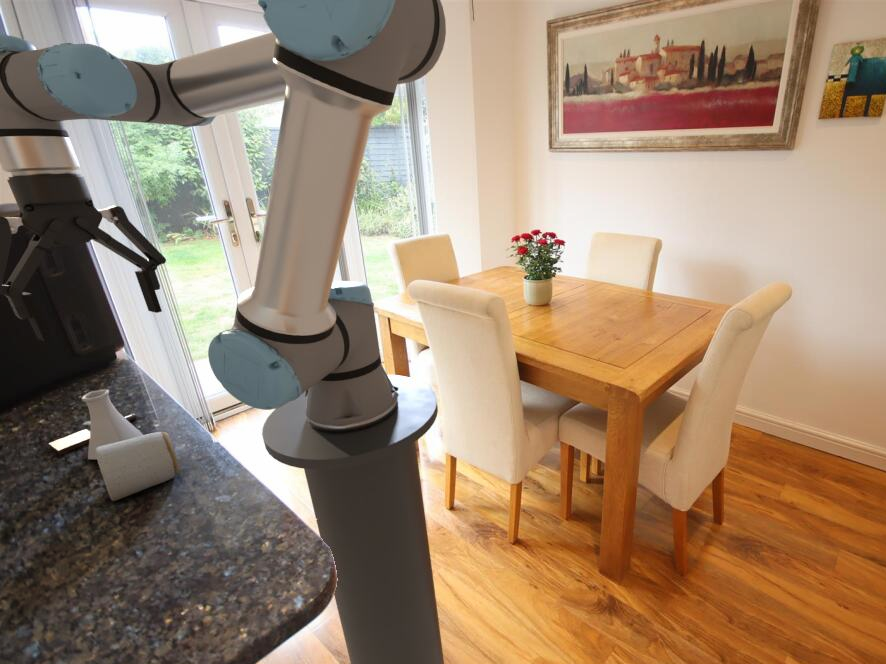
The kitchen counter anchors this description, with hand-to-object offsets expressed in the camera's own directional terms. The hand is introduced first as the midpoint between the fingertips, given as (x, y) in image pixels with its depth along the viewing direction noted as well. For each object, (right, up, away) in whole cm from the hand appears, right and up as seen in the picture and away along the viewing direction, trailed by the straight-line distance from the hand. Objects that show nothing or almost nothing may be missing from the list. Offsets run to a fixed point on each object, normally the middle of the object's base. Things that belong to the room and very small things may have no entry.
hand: (104, 324), depth 69 cm
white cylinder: (+7, -23, -2) cm, 24 cm away
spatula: (-11, -19, +11) cm, 24 cm away
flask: (-4, -20, +7) cm, 22 cm away
